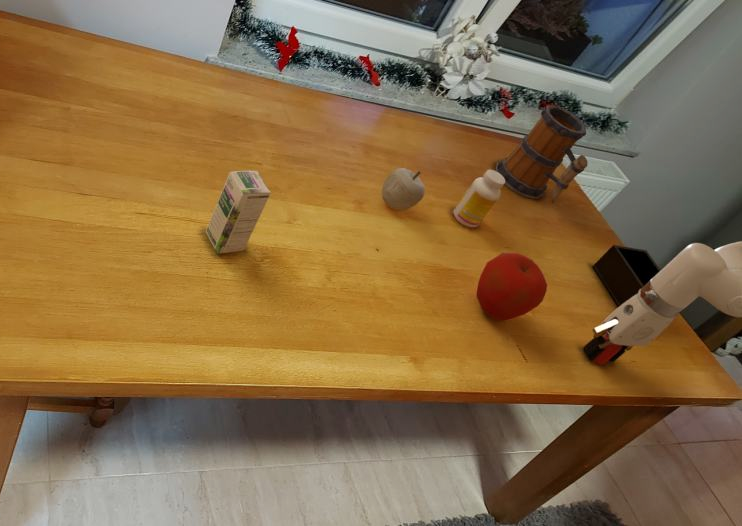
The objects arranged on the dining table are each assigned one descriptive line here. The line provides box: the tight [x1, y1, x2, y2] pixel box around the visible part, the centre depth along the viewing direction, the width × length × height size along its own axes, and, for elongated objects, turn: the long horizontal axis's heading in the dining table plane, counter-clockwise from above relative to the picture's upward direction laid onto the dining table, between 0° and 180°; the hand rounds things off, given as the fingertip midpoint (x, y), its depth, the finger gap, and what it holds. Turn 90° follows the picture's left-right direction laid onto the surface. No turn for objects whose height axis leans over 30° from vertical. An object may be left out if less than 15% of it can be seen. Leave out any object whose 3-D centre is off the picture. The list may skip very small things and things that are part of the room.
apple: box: [476, 252, 548, 322], centre depth 132 cm, size 12×12×14 cm
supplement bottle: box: [453, 169, 505, 228], centre depth 153 cm, size 7×7×13 cm
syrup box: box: [205, 170, 272, 255], centre depth 118 cm, size 6×6×14 cm
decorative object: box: [381, 167, 426, 211], centre depth 147 cm, size 9×9×10 cm
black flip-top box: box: [591, 244, 662, 308], centre depth 158 cm, size 14×11×8 cm
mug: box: [494, 104, 588, 204], centre depth 172 cm, size 19×14×20 cm
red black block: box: [593, 334, 622, 365], centre depth 138 cm, size 4×4×5 cm
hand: (598, 355), depth 139 cm, fingers open, 4 cm apart
